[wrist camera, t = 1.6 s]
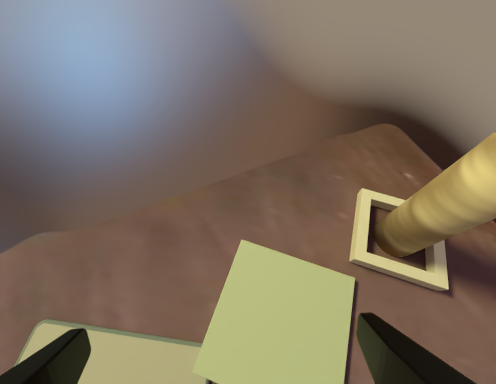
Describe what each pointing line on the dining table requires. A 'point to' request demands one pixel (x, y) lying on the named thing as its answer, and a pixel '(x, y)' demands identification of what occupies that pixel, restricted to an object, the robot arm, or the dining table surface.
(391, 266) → the cream rectangular frame
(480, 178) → the tan dome-topped cylinder
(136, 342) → the sticky note pad
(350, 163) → the dining table surface
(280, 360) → the mat
